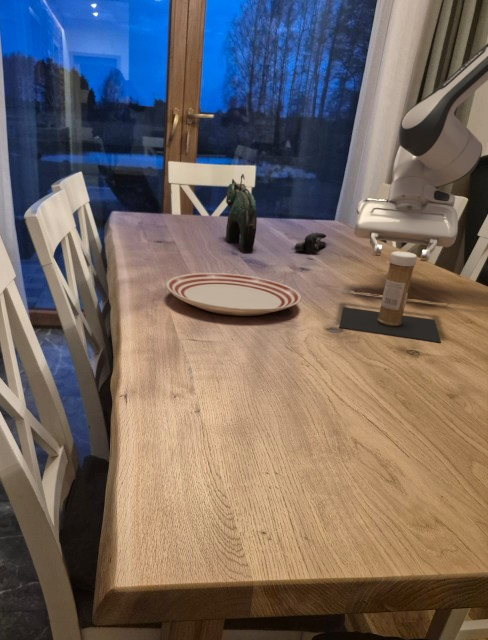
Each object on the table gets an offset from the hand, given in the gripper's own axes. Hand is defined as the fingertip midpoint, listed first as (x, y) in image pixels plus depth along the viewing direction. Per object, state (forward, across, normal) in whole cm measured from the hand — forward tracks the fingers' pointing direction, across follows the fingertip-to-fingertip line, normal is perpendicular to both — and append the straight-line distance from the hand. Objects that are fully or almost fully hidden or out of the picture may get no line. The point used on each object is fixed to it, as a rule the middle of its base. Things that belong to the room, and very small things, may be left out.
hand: (400, 257), depth 118 cm
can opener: (-29, -21, +44) cm, 57 cm away
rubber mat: (+17, 0, -2) cm, 17 cm away
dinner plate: (+18, -31, -3) cm, 36 cm away
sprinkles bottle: (+17, 0, -2) cm, 17 cm away
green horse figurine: (-23, -42, +38) cm, 62 cm away
